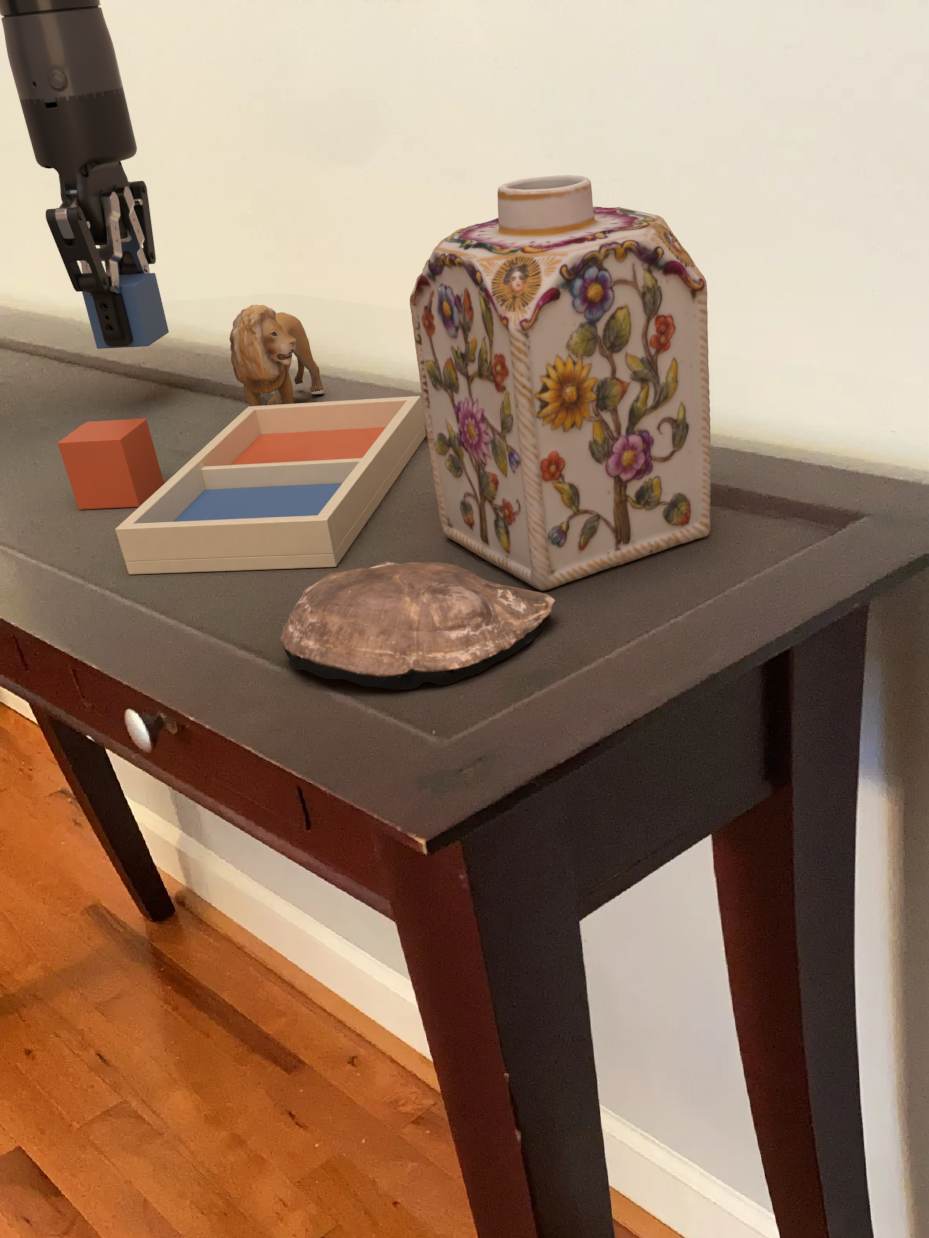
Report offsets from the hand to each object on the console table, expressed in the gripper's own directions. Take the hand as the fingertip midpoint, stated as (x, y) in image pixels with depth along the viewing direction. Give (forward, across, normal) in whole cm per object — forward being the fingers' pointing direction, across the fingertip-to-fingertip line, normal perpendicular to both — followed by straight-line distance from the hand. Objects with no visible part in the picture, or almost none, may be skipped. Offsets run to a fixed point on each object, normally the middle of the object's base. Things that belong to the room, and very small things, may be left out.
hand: (132, 336), depth 104 cm
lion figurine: (+5, +6, +14) cm, 17 cm away
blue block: (0, 0, 0) cm, 0 cm away
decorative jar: (+5, +34, +40) cm, 53 cm away
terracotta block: (+5, +23, +7) cm, 25 cm away
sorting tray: (+5, +25, +20) cm, 33 cm away
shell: (+5, +47, +33) cm, 58 cm away
